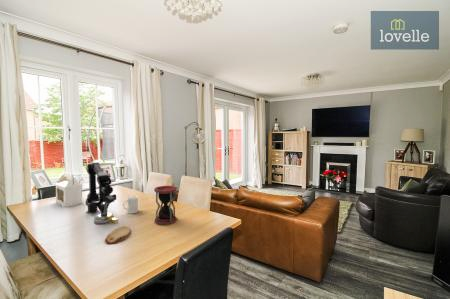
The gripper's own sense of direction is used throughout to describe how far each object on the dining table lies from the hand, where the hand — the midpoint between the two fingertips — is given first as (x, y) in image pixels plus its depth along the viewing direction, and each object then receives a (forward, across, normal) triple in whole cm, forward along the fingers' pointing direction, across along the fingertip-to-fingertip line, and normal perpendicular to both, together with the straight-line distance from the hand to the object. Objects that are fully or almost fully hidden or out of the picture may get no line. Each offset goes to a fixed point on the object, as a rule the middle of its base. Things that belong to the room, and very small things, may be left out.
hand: (104, 212), depth 160 cm
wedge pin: (+2, 0, 0) cm, 2 cm away
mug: (+6, +21, -6) cm, 23 cm away
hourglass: (+6, +14, -43) cm, 46 cm away
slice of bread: (+7, -16, -28) cm, 33 cm away
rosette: (+6, 0, -2) cm, 7 cm away
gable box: (+7, +23, +63) cm, 67 cm away
